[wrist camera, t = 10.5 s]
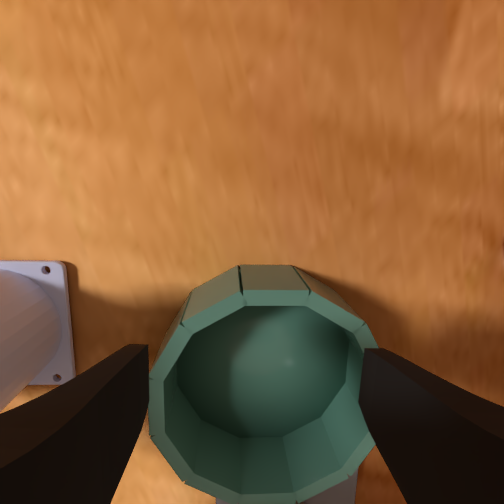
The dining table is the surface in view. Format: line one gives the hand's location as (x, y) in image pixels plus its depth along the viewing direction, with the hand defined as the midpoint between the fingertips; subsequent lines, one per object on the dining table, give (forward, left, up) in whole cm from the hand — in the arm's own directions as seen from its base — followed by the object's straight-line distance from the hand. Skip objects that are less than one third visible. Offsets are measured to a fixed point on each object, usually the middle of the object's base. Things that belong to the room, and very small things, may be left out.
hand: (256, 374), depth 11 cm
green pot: (+1, -5, -10) cm, 12 cm away
